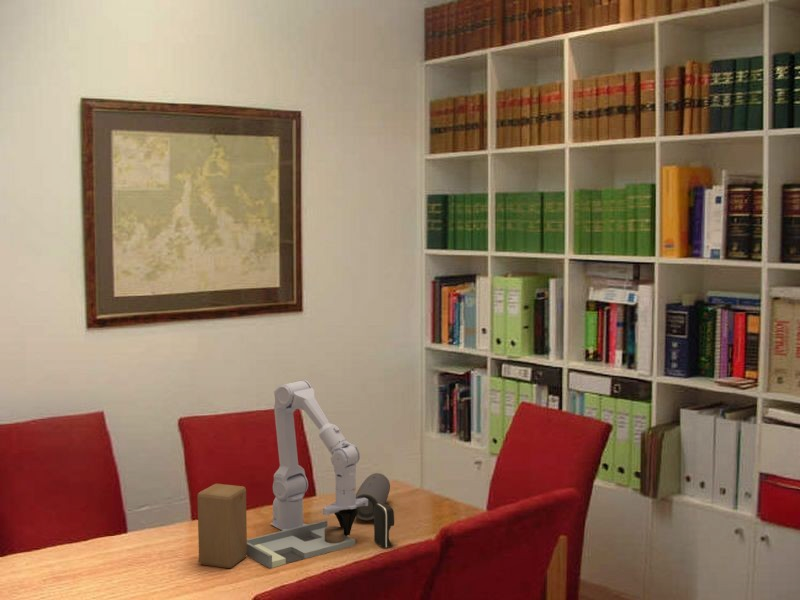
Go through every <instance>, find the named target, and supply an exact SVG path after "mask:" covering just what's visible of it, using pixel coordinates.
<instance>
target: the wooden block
mask: <svg viewBox="0 0 800 600" xmlns="http://www.w3.org/2000/svg"><path fill="white" fill-rule="evenodd" d="M197 526H198V527H197V528H198V531H197V532H198V533H197V534H198V535H197V536H198V563H199V564H200V565H204V566H209V567H210V566H211V567H218V568H225V569H226V568H227V569H230V568H233V567H235V566H236V565H237V564H238V563H239V562H241V561H242V560H244V559H245V558H246V557H248V556H247V537H248V535H247V534H248V533H247V529H248V527H247V489H246V487H245V486H243V485H241V486H240V485H235V484H234V485H233V484H222V483H214V484H212V485H211V486H209V487H207V488H205V489H203V490H200V492H198V494H197Z"/></svg>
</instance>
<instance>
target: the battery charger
mask: <svg viewBox="0 0 800 600" xmlns="http://www.w3.org/2000/svg"><path fill="white" fill-rule="evenodd" d="M394 525H395V511H394V508H393V507H392V506H390V505H389V504H387V503H382V504H376V505H375V506H374V518H373V529H374V533H373V534H374V535H373V536H374V537H373V540H374V542H375V543H376V544H377V545H379V546H380V547H381V548H383V549H386V548H390V547H392V546H393V543H392V542H391V541H390V529H391V527H393V526H394Z"/></svg>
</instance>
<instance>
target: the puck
mask: <svg viewBox="0 0 800 600" xmlns="http://www.w3.org/2000/svg"><path fill="white" fill-rule="evenodd" d="M324 533H325V541H326V542H328V543H340V542H342V541H344V528H342V527H340V526H337V525H334V526H333V525H332V526H327V528H325V530H324Z"/></svg>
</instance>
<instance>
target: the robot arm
mask: <svg viewBox="0 0 800 600" xmlns="http://www.w3.org/2000/svg"><path fill="white" fill-rule="evenodd" d="M315 392H316V391H315V389H314V388H313V387H312V385H311V383H310V382H309V381H308V380H305V379H302V380H298V381H295V382H290V383H286V384H285V383H284V384H283V383H282V384H280V385H278V386H277V388H276V389H275V390H274V391H273V393H274V395H273V396H274V407H273V410H274V420H275V421H274V423H275V430H276V441H277V451H278V461H279V467H278V469H276V471H275V473H274V474H273V483H272V493H273V494H274V496H275V498H274V500H273V503H272V522H270V525H271V526H273V527H275V528H276V529H279V530H280V531H284V530H288V529H292V528H296V527H300V526H304V525H308V523H304V497H305V493H306V492H307V490H308V488H309V481H308V478H307V477H306V471H305V469H304V468H303V467H302V466H301V465H299V460H298V447H297V438H296V428H295V427H296V426H295V417H294V412H295V411H297V410H302V411H304V412H305V414H306V415H307V416H308V417H309V419H310V420H311V421H312V423H314V425H315V426H316V428H317V429H318V430H319V433H318V434H319V435H318V436H319V437H318V438H320V440H321V441H322V442H323V444H324V446H325V447H326V448H327V450H328V452H329V453H330V454H331V456H330V461H331V464H332V466H333V471H334V474H335V502H334V503H331V504H329V505H327V506H323V507H322V514H323V515H324V516H330V515H331V514H334V515H335V517H336V519H337V521H338V524H339V527H342V528H344V535H345V536H348V537H349V536H350V535H351V531H352V528H353V525H354V524H353V523H354V521H355V519H356V518H357V517H356V516H357V514H358V511H357V510H355V509H356V508H357V507H361V506H368V499H366V498H359V499H356V493H357V491H356V489H357V488H356V487H357V486H356V484H357V483H356V482H357V481H356V480H357V478H356V477H357V475H356V474H357V473H356V471H357V469H356V468H357V467H356V464H358V462H359V461H360V457H361V455H360V451H359V449H358V447H357V446H356V445H355V444H352V443H351V442H349V441H347V439H346V438H345V436H344V434H343V433H342V432H341V430H340V428H339V426H337V425H336V424H334V423H330V421H329V420H328V418H327V415H325V413H324V411H323V410H322V408H321V406H320V404H319V402H318V401H317V399H316V397H315V395H316V393H315Z"/></svg>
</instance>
